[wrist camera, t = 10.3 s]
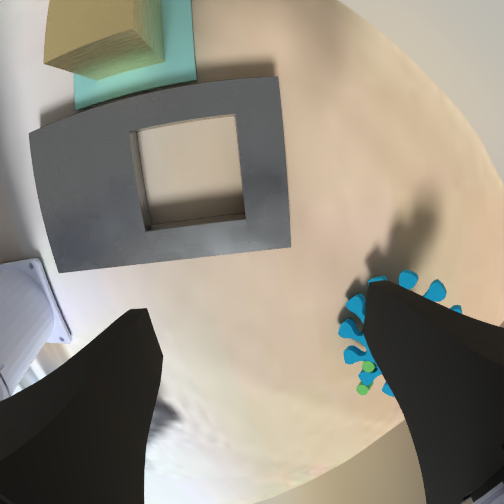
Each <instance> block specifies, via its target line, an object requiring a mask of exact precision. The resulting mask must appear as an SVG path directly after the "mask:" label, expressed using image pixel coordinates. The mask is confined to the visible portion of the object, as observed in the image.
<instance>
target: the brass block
mask: <svg viewBox="0 0 504 504" xmlns="http://www.w3.org/2000/svg"><path fill="white" fill-rule="evenodd" d="M164 62H165V58H164V41H163V19H162V3H161V1H160V0H50V2H49V8H48V15H47V23H46V33H45V45H44V64H46V65H50V66H53V67H56V68H60V69H63V70H66V71H69V72H72V73H75V74H78V75H81V76H84V77H87V78H90V79H93V80H96V81H98V80H101V79H104V78H107V77H110V76H114V75H117V74H120V73H124V72H127V71H131V70H134V69H138V68H142V67H146V66H150V65H155V64H159V63H164Z"/></svg>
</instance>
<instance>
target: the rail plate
mask: <svg viewBox="0 0 504 504" xmlns="http://www.w3.org/2000/svg"><path fill="white" fill-rule="evenodd" d="M229 116H235V121H236V131H237V141H238V150H239V160H240V170H241V180H242V189H243V199H244V208H245V213H242V214H233V215H225V216H216V217H208V218H200V219H192V220H184V221H177V222H169V223H162V224H155V225H151V221H150V216H149V210H148V205H147V199H146V194H145V188H144V182H143V175H142V169H141V162H140V155H139V147H138V139H137V132H138V131H143V130H148V129H152V128H157V127H162V126H168V125H173V124H179V123H185V122H191V121H198V120H205V119H212V118H220V117H229ZM29 140H30V149H31V157H32V165H33V171H34V177H35V183H36V188H37V194H38V198H39V203H40V208H41V212H42V216H43V220H44V224H45V228H46V232H47V236H48V239H49V243H50V246H51V250H52V253H53V256H54V259H55V263H56V266H57V269H58V272H59V273H65V272H74V271H83V270H92V269H100V268H109V267H118V266H127V265H136V264H145V263H154V262H163V261H172V260H181V259H190V258H198V257H207V256H216V255H225V254H234V253H243V252H252V251H261V250H270V249H279V248H288V247H291V235H290V216H289V200H288V184H287V170H286V157H285V144H284V133H283V121H282V111H281V101H280V91H279V81H278V76H277V77H256V78H243V79H232V80H222V81H214V82H206V83H199V84H193V85H187V86H181V87H175V88H170V89H165V90H160V91H155V92H151V93H146V94H142V95H138V96H134V97H130V98H126V99H123V100H119V101H115V102H112V103H108V104H105V105H102V106H99V107H95V108H92V109H89V110H86V111H83V112H80V113H78V114H75V115H72V116H69V117H67V118H64V119H61V120H59V121H56V122H54V123H51V124H49V125H46V126H44V127H42V128H39V129H37V130H35V131H33V132H30V133H29Z"/></svg>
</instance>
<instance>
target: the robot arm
mask: <svg viewBox="0 0 504 504" xmlns="http://www.w3.org/2000/svg"><path fill="white" fill-rule="evenodd" d="M31 264H32V265H33V266H32V265H31ZM362 332H363V334H364V337H365V340H366V342H367V345H368V347H369V350H370V352H371V355H372V357H373V358H374V360H375V362H376V364H377V366H378V367H379V369H380V371H381V373H382V375H383V376H384V378H385V380H386V382H387V383H388V385H389V387H390V389H391V391H392V392H393V394H394V396H395V398H396V400H397V402H398V403H399V405H400V408H401V410H402V412H403V414H404V417H405V419H406V422H407V425H408V427H409V430H410V433H411V436H412V439H413V442H414V446H415V449H416V452H417V456H418V460H419V464H420V467H421V472H422V477H423V481H424V488H425V495H426V502H427V504H463V503H465V502H466V501H468V500H469V499H471V498H472V500H473V503H472V504H504V328H502V327H498V326H495V325H491V324H488V323H485V322H482V321H479V320H476V319H473V318H471V317H468V316H466V315H463V314H461V313H458V312H456V311H454V310H451V309H449V308H447V307H444V306H442V305H440V304H438V303H436V302H434V301H431V300H429V299H427V298H425V297H423V296H421V295H419V294H417V293H415V292H413V291H410V290H408V289H406V288H404V287H402V286H400V285H397V284H395V283H392V282H390V281H387V280H381V281H375V282H369V286H368V295H367V303H366V311H365V318H364V325H363V331H362ZM71 341H72V337H71V335H70V333H69V331H68V329H67V327H66V324H65V322H64V320H63V318H62V315H61V313H60V311H59V309H58V306H57V304H56V301H55V299H54V296H53V294H52V291H51V289H50V286H49V283H48V281H47V278H46V275H45V272H44V269H43V266H42V263H41V261H40V260H39V259H38V258H33V259H26V260H20V261H14V262H8V263H2V264H0V504H144V468H145V453H146V444H147V438H148V433H149V428H150V424H151V420H152V415H153V411H154V407H155V403H156V398H157V394H158V390H159V386H160V381H161V373H162V363H163V354H162V351H161V348H160V346H159V343H158V340H157V337H156V334H155V331H154V328H153V325H152V322H151V319H150V316H149V313H148V310H147V308H143V309H130V310H129V311H127V312H126V313H124V314H123V315H122V316H120V317H119V318H118V319H117V320H116V321H114V322H113V323H112V324H111V325H110V326H109V327H107V328H106V329H105V330H104V331H103V332H102V333H100V334H99V335H98V336H97V337H96V338H95V339H93V340H92V341H91V342H90V343H89V344H88V345H86V346H85V347H84V348H83V349H81V350H80V351H79V352H78V353H76V354H75V355H74V356H73V357H72V358H70V359H69V360H68V361H67V362H65V363H64V364H63V365H61V366H60V367H59V368H57V369H56V370H54V371H53V372H51V373H50V374H48V375H47V376H45V377H44V378H42V379H41V380H39V381H38V382H36V383H34V384H33V385H31V386H29V387H27V388H25V389H24V390H22V391H20V392H18V393H16V394H15V395H13V396H11V395H12V393H13V392H14V390H15V388H16V387H17V385H18V383H19V382H20V380H21V379H22V377H23V375H24V374H25V372H26V371H27V369H28V368H29V366H30V365H31V363H32V362H33V360H34V359H35V357H36V356H37V354H38V353H39V351H40V350H41V348H42V347H43V346H44V344H45V343H46V342H47V343H70V342H71Z"/></svg>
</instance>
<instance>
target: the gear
mask: <svg viewBox="0 0 504 504" xmlns="http://www.w3.org/2000/svg"><path fill="white" fill-rule="evenodd" d="M381 280H387V281H388V279H387V277H386V276H377V277H373V278H371V279H370V280H369V281H368V286H369V282H375V281H381ZM417 281H418V275H417V274H416V273H414V272H412V271H410V270H406V269H404V270H403V271H402V272H401V274H400V275H399V285H400V286H402V287H404V288H406V289H408V290H409V289H411V288H413V287H414V286H415V284H416V283H417ZM445 296H446V289H445V287H444V285H443V284H442V283H441V282H440V281H439V280H438V279H437V280H434V281H433V282H432V283H431V285H430V288H429V289H428V291H427V292H426V293H425V294H424V295H423V297H425V298H427V299H429V300H431V301H441V300H443V299H444V298H445ZM365 303H366V300H365V297H364V295H363V294H361V293H359V294H357V295H355V296H354V297H352V298H351V299H350V300H349V301H348V302H347V303H346V307H347V308H348V310H350V311H351V312H353V313H355V314H356V315H357V316H358V317H359V318H360V319H361V321H362V323H363V325H364V318H365V311H366V309H365ZM450 309H451V310H454V311H456V312H458V313H461V314H462V309H461V306H460V305H454V306H452V307H451V308H450ZM338 334H339V335H340V336H341V337H343V338H352V339H355V340H357V341H358V342H360V343H361V344H362V345H364V346H365V347H366V349H367V351H366V352H363V351H361V350H360V349H358V348H357V347H356V346H348V347H347V348H346V350H345V351H344V359H345V363H347V364H353V363H355V362H358V361H364V363H363V364H362V371H361V372H360V374H359V375H358V376H359V378H360V380H361V382H360V384H359V385H358V386H357V392H358V393H359V394H361V395H365V394H367V393H368V391H369V390H370V388H371V386H372V385H373V380H374V379H375V378H376V377H377V376H379V375H381V374H382V373H381V371H380V369H379V367H378V366H377V364H376V362H375V360H374V358H373V357H372V355H371V352H370V350H369V347H368V345H367V342H366V340H365V337H364V334H363V332H361V331H359V330H358V329H357V326H356V324H355V322H354V321H353V320H351V319H346V320H345V321H344V322H343V323H342V324H341V326H340V329H339V332H338ZM382 391H383V392H384V393H385V394H387V395H390V396H392V397H394V394H393V392H392V391H391V389H390V387H389V385H388V383H387V382H386V383H385V385H384V386H383V388H382Z"/></svg>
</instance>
